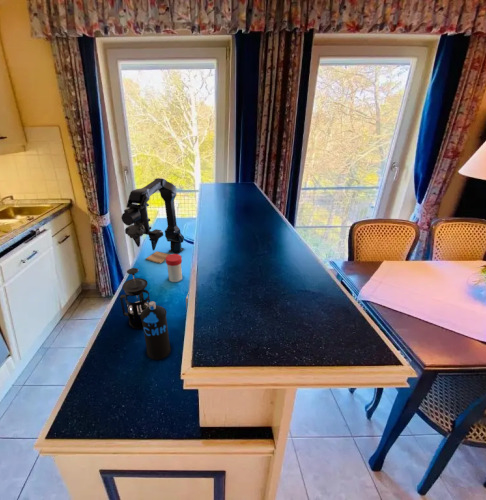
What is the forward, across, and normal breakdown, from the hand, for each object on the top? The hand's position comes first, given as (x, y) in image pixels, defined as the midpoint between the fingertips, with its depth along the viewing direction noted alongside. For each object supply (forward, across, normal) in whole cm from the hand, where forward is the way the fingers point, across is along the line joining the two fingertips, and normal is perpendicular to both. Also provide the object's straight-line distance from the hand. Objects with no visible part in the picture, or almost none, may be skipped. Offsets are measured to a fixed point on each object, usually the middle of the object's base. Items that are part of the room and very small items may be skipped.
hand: (146, 248), depth 135 cm
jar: (+14, +14, +2) cm, 20 cm away
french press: (+14, +19, -30) cm, 39 cm away
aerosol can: (+14, +35, -39) cm, 55 cm away
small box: (+14, +37, -17) cm, 44 cm away
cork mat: (+14, -6, +16) cm, 22 cm away
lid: (+3, +14, +2) cm, 15 cm away
